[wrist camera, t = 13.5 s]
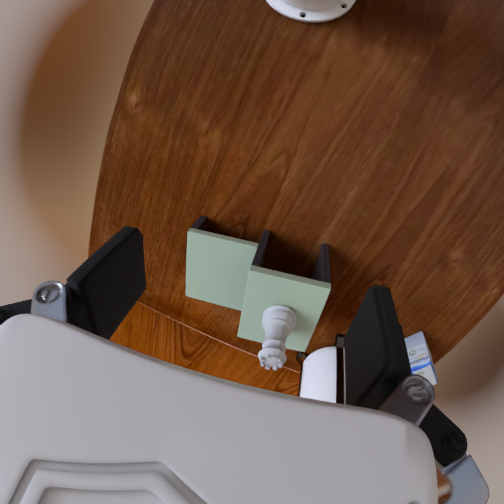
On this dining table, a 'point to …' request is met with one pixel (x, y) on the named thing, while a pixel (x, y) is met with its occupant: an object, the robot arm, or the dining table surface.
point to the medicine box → (420, 357)
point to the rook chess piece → (276, 335)
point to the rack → (254, 283)
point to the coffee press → (324, 373)
